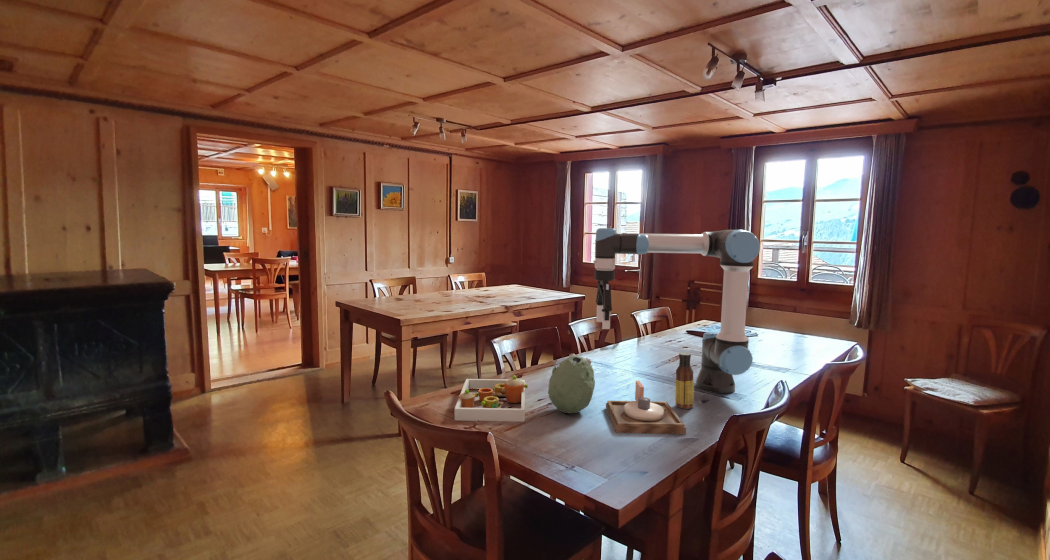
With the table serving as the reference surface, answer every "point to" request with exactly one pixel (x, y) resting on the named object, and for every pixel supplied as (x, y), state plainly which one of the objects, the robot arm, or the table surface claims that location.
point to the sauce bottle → (684, 382)
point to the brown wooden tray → (630, 425)
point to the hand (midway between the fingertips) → (602, 325)
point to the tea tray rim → (488, 413)
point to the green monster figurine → (572, 384)
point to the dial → (643, 407)
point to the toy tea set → (509, 389)
